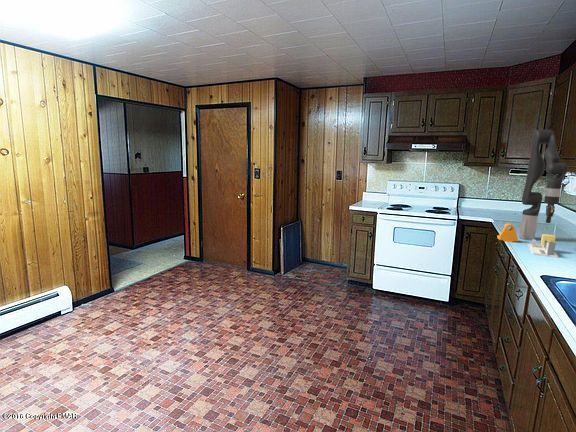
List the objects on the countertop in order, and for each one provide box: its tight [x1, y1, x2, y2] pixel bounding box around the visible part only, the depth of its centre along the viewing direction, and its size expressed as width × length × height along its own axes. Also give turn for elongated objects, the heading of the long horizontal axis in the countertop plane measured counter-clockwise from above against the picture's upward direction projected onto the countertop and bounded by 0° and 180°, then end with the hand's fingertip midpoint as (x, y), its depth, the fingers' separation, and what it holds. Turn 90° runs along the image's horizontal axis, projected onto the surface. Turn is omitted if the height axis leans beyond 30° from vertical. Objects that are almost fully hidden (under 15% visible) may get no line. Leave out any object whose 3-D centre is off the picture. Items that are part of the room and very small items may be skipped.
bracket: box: [497, 222, 519, 243], centre depth 238 cm, size 11×7×12 cm, turn 72°
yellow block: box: [540, 233, 557, 246], centre depth 213 cm, size 5×6×6 cm
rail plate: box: [527, 239, 559, 258], centre depth 213 cm, size 24×12×8 cm, turn 152°
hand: (548, 222), depth 218 cm, fingers closed
